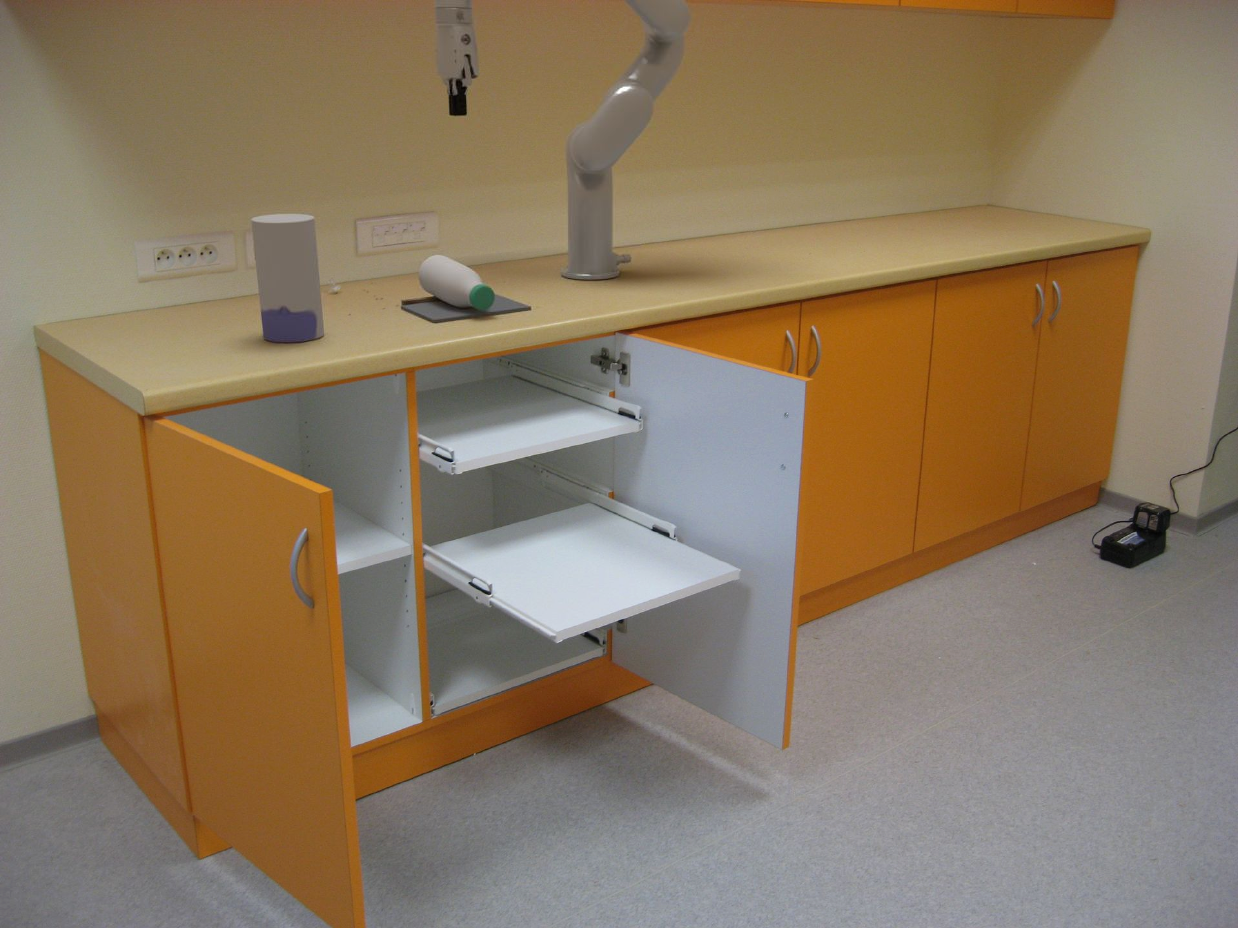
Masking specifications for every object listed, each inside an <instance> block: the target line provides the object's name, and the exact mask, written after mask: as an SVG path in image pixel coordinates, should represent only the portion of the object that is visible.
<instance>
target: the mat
mask: <svg viewBox="0 0 1238 928" xmlns="http://www.w3.org/2000/svg"><path fill="white" fill-rule="evenodd" d="M494 294H495V299H494V303H493V304H492V306H491V307H490V308H488V309H486V310H478V309H476V308H474V307H468V308H460V307H456V306H453V305H451V304H449V303H447V302H445V301H443V300H442V301H434V302H427V303H419V304H411V305H403V306H402V305H400V310H402V311H405V312H407V313H409V314H412V315H414V316H417V317H419V318H421V319H423V320H426V321H428V322H430V323H433V324H439V323H446V322H453V321H460V320H466V319H475V318H482V317H483V318H484V317H488V316H497V315H503V314H504V315H505V314H510V313H518V312H524V311H525V312H527V311H531V310H532V306H530V305H527V304H524V303H522V302H519V301H517V300H513V299H510V298H508V297H505V296H503V295H501V294H500V295H499V294H497V293H494Z"/></svg>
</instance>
